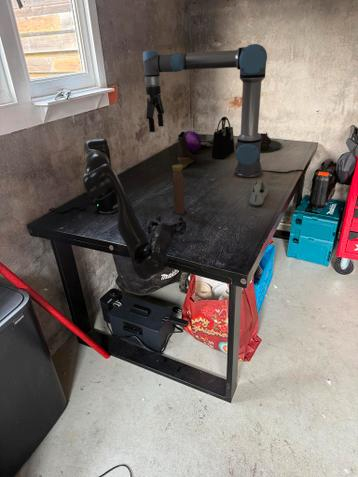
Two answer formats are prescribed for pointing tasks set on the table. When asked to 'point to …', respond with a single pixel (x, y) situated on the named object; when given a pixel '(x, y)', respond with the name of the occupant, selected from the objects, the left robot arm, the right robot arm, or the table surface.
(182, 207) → the bottle
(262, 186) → the ballet flat
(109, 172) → the left robot arm
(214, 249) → the table surface
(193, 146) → the decorative orb
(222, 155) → the handbag
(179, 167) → the cap
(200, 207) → the table surface
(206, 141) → the pair of gloves
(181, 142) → the boot
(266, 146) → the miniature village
